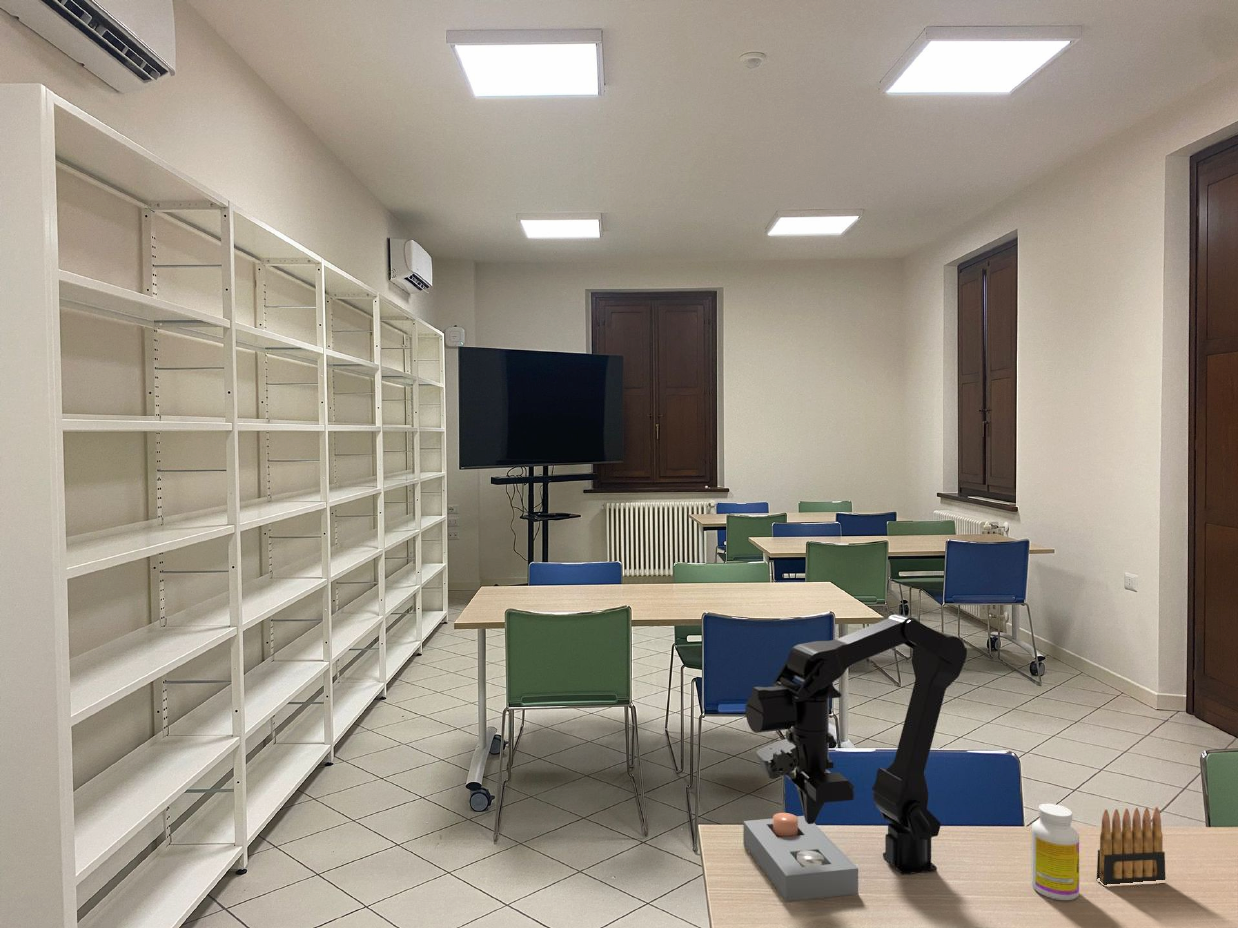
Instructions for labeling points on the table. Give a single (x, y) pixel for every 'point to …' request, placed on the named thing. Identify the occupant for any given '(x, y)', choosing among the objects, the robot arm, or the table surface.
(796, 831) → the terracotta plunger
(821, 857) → the steel plunger
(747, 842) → the panel
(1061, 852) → the supplement bottle
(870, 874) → the table surface
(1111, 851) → the ammunition clip
